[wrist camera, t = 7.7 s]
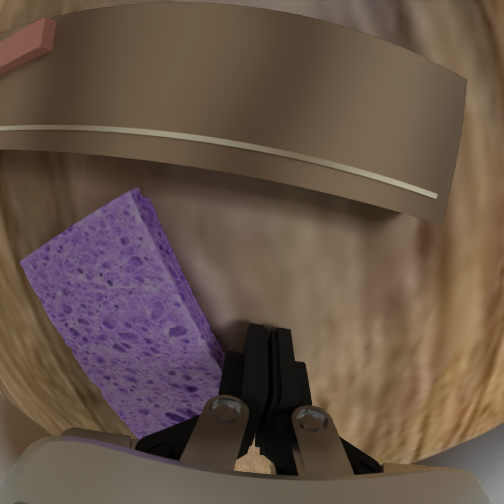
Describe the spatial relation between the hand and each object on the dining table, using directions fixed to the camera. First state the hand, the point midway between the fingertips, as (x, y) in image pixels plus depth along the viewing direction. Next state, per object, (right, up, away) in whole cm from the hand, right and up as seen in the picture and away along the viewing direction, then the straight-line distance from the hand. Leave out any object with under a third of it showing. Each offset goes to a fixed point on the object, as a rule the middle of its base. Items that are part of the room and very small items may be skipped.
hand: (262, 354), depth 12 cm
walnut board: (-6, +10, -3) cm, 12 cm away
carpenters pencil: (-12, +11, -5) cm, 17 cm away
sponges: (-5, 0, +2) cm, 6 cm away
